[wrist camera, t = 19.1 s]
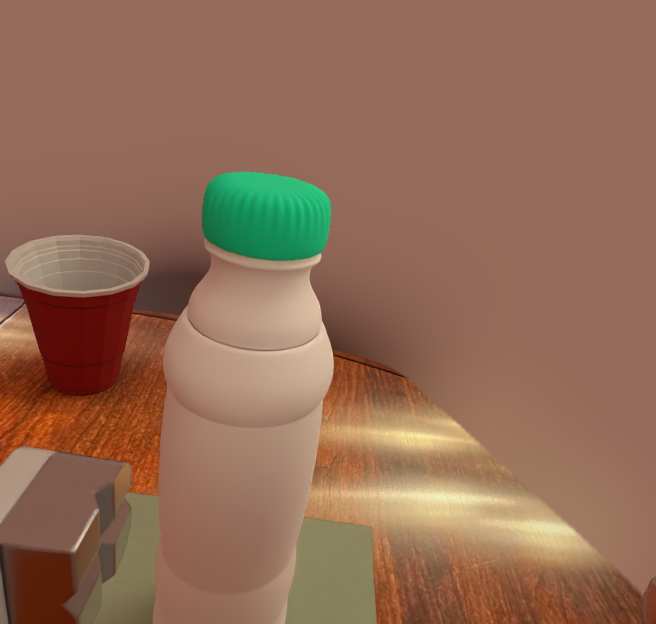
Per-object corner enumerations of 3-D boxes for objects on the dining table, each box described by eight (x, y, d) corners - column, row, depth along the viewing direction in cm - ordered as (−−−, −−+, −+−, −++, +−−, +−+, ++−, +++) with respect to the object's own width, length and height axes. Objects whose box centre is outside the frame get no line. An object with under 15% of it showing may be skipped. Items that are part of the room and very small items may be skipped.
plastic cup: (11, 422, 43) (-3, 283, 38) (20, 353, 51) (10, 233, 46) (154, 407, 47) (158, 282, 42) (140, 346, 56) (142, 236, 51)
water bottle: (305, 658, 29) (406, 209, 19) (177, 727, 25) (217, 210, 15) (249, 559, 34) (304, 164, 24) (135, 604, 30) (144, 155, 20)
